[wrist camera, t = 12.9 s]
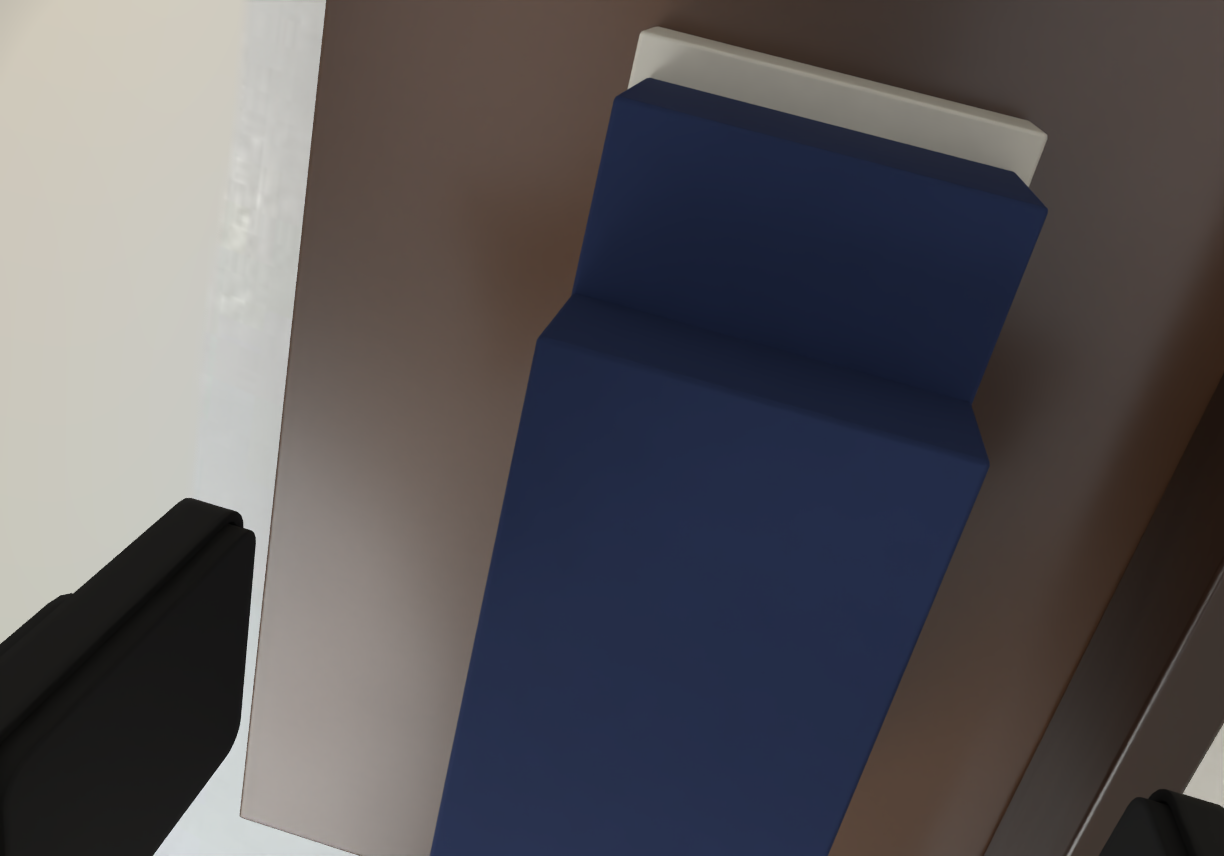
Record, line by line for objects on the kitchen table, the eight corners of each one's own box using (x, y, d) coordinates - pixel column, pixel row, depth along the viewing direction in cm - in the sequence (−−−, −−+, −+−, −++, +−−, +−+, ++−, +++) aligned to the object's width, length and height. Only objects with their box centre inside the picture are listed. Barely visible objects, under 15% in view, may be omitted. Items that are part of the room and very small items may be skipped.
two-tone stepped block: (494, 732, 19) (390, 966, 15) (654, 25, 14) (572, 51, 10) (770, 817, 19) (750, 1085, 14) (1033, 121, 14) (1130, 195, 9)
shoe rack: (358, 644, 27) (170, 915, 19) (505, -311, 18) (276, -507, 11) (922, 818, 26) (961, 1177, 18) (1348, -114, 17) (1752, -178, 10)
